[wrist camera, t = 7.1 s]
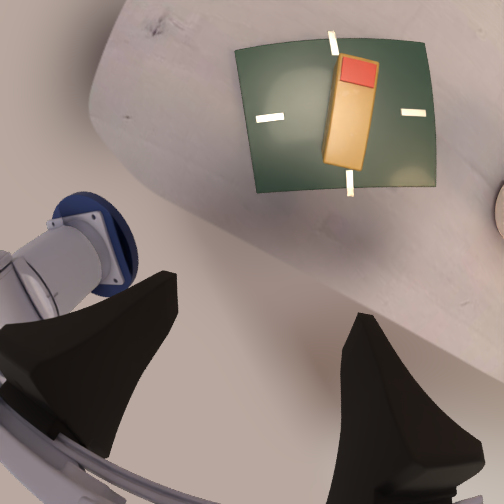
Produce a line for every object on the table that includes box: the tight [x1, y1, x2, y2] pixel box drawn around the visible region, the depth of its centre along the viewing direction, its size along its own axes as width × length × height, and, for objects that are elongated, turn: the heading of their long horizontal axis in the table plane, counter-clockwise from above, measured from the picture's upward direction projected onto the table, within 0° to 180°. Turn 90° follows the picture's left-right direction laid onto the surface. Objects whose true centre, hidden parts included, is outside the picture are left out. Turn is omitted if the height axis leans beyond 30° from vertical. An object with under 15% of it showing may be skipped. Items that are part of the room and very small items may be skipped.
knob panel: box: [234, 31, 436, 196], centre depth 14 cm, size 10×9×3 cm
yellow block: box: [321, 53, 379, 171], centre depth 11 cm, size 5×2×4 cm, turn 173°
